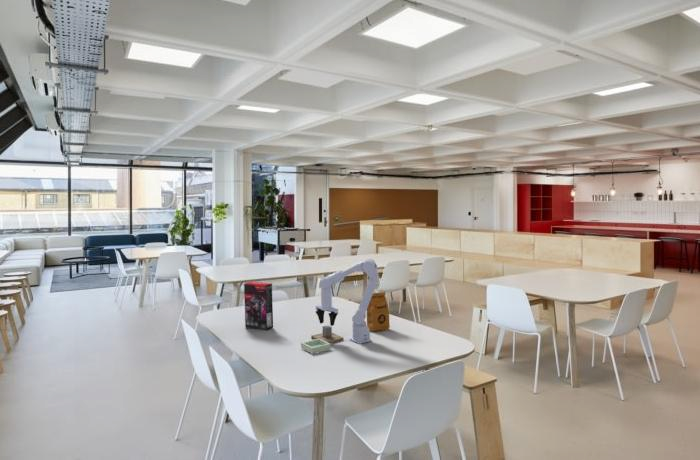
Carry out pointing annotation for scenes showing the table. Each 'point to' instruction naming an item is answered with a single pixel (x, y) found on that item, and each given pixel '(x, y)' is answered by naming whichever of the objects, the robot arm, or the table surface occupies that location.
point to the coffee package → (378, 313)
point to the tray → (315, 346)
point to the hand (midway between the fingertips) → (326, 324)
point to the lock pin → (327, 331)
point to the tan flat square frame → (330, 340)
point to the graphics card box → (258, 305)
